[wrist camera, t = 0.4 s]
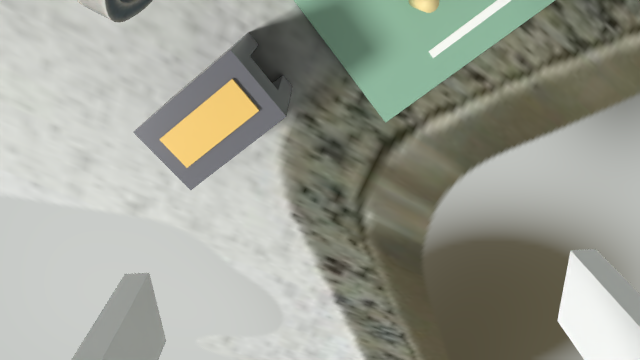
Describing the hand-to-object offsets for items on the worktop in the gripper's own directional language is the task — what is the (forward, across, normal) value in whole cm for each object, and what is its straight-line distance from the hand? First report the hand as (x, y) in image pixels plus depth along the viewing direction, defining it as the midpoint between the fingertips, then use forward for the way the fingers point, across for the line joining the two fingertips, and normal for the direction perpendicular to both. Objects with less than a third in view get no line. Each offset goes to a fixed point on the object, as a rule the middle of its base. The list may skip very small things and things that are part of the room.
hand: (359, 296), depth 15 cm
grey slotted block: (+24, -8, +1) cm, 25 cm away
